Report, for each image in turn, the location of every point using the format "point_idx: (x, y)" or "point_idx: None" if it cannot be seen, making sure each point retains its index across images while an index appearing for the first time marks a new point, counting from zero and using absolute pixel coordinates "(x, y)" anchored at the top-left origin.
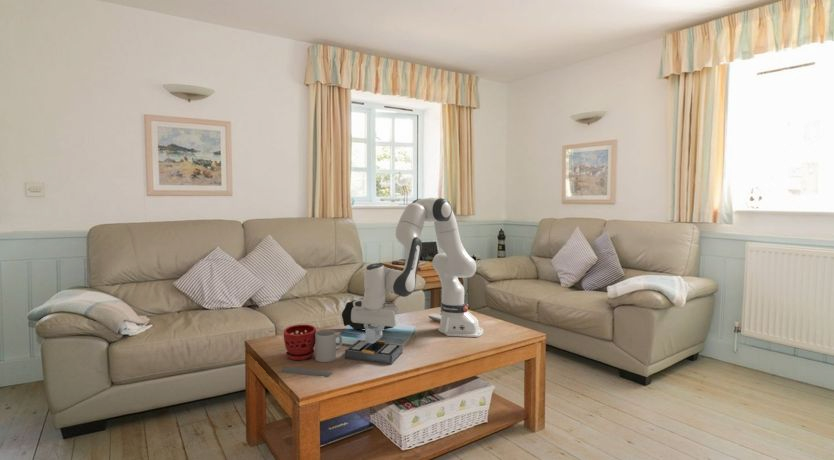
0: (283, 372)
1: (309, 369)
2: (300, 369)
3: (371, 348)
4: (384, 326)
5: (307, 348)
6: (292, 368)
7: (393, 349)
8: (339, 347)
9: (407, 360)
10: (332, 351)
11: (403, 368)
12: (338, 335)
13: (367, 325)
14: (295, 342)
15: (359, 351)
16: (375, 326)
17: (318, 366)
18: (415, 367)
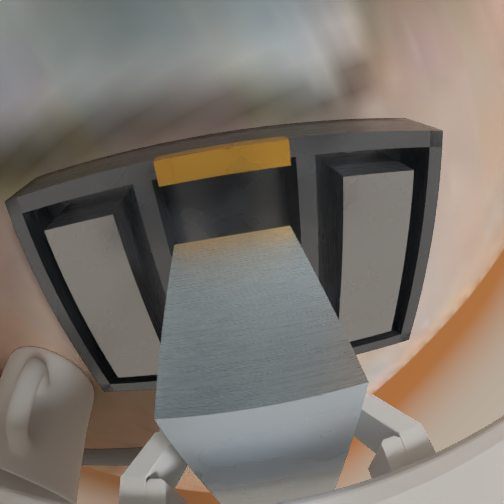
0: None
1: (121, 458)
2: (106, 464)
3: (168, 210)
4: (422, 433)
5: None
6: (84, 463)
7: (402, 248)
8: (46, 373)
9: (452, 221)
10: (86, 427)
11: (441, 309)
12: (27, 442)
13: (179, 496)
14: None
15: None
16: (311, 491)
17: (104, 428)
18: (482, 276)
